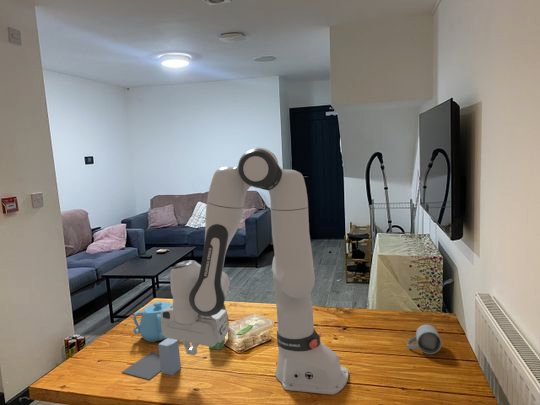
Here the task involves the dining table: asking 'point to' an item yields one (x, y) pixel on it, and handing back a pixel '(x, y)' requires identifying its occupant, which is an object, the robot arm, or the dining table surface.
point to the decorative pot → (151, 321)
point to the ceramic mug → (426, 340)
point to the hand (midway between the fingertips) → (191, 353)
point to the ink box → (221, 328)
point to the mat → (145, 366)
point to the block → (169, 356)
